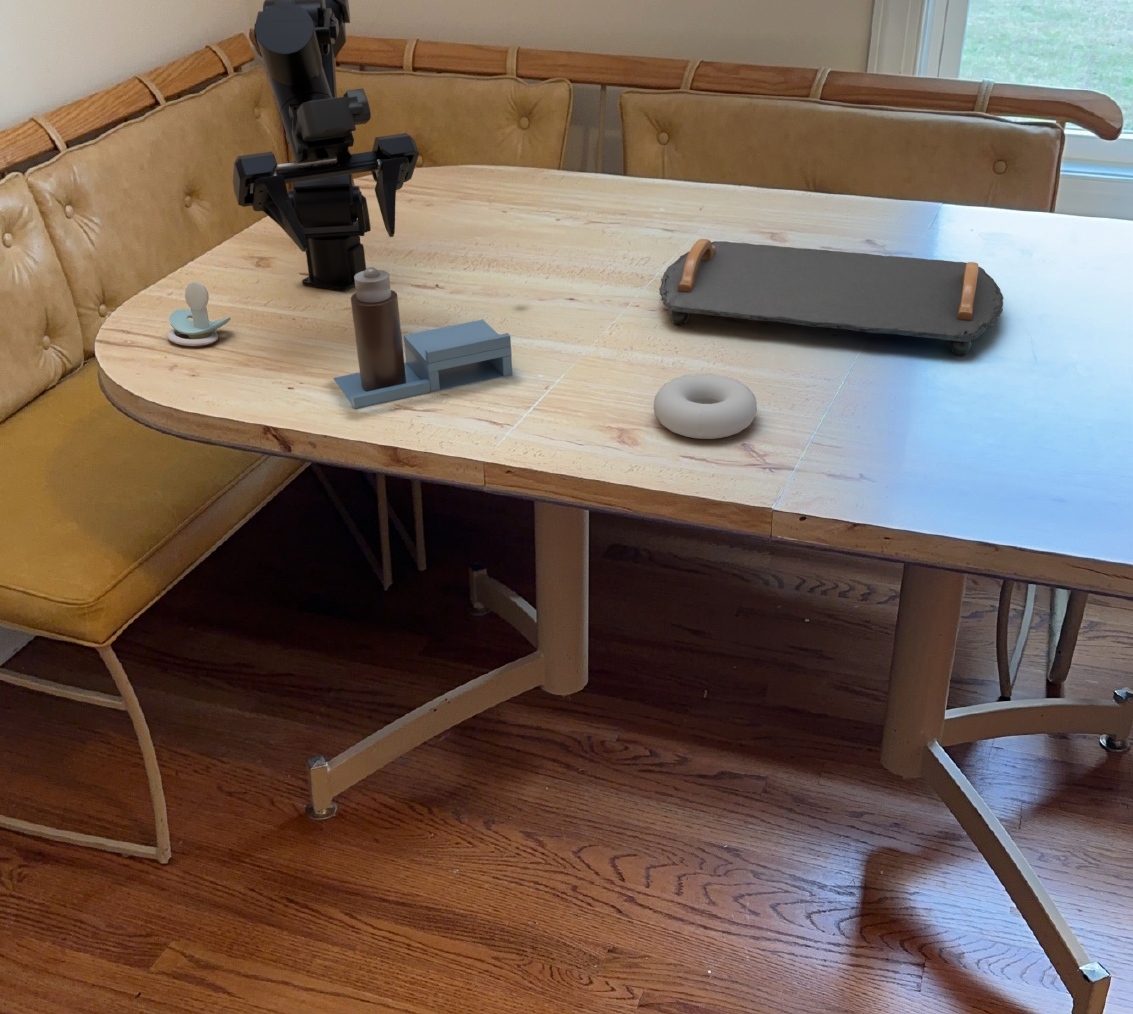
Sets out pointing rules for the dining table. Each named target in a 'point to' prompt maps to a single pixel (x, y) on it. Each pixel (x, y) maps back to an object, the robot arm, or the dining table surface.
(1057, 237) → the dining table surface
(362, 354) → the pepper mill
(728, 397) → the donut
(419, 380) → the riser
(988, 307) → the serving tray
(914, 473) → the dining table surface
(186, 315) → the pacifier
